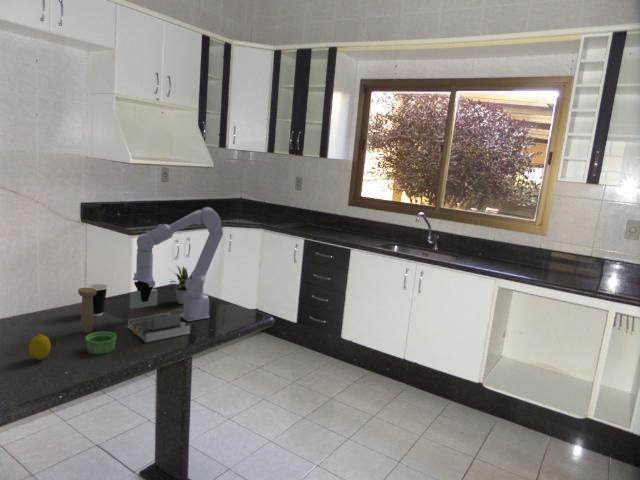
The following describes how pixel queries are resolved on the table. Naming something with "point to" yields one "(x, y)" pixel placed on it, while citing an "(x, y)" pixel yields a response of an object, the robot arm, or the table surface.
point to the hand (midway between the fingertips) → (143, 300)
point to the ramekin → (100, 342)
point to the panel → (137, 301)
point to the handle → (87, 308)
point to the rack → (158, 327)
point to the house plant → (181, 285)
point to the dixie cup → (98, 298)
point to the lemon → (39, 346)
